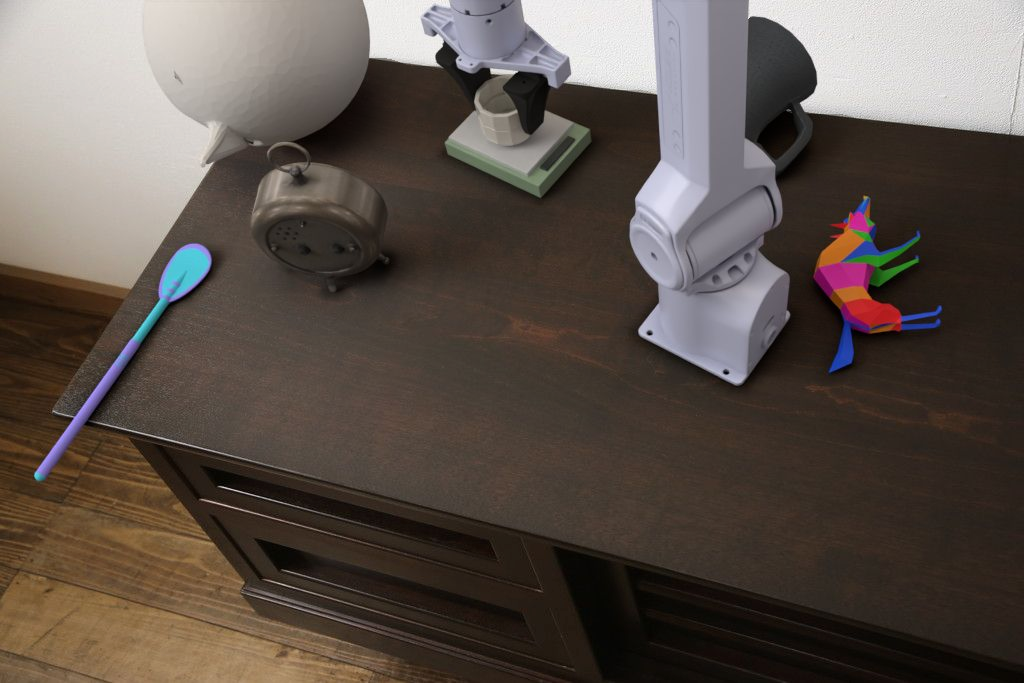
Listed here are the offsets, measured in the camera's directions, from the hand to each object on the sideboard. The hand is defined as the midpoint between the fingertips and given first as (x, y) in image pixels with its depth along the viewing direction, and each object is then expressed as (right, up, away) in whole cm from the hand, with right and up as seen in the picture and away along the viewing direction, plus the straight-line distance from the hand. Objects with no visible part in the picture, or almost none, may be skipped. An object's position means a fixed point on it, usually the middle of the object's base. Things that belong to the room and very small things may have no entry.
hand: (508, 115), depth 98 cm
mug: (+25, +4, -2) cm, 25 cm away
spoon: (-33, -21, -6) cm, 39 cm away
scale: (+1, -2, +3) cm, 4 cm away
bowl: (0, -1, +1) cm, 1 cm away
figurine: (+33, -15, -14) cm, 38 cm away
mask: (-17, +10, +10) cm, 22 cm away
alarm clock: (-15, -15, -2) cm, 21 cm away
